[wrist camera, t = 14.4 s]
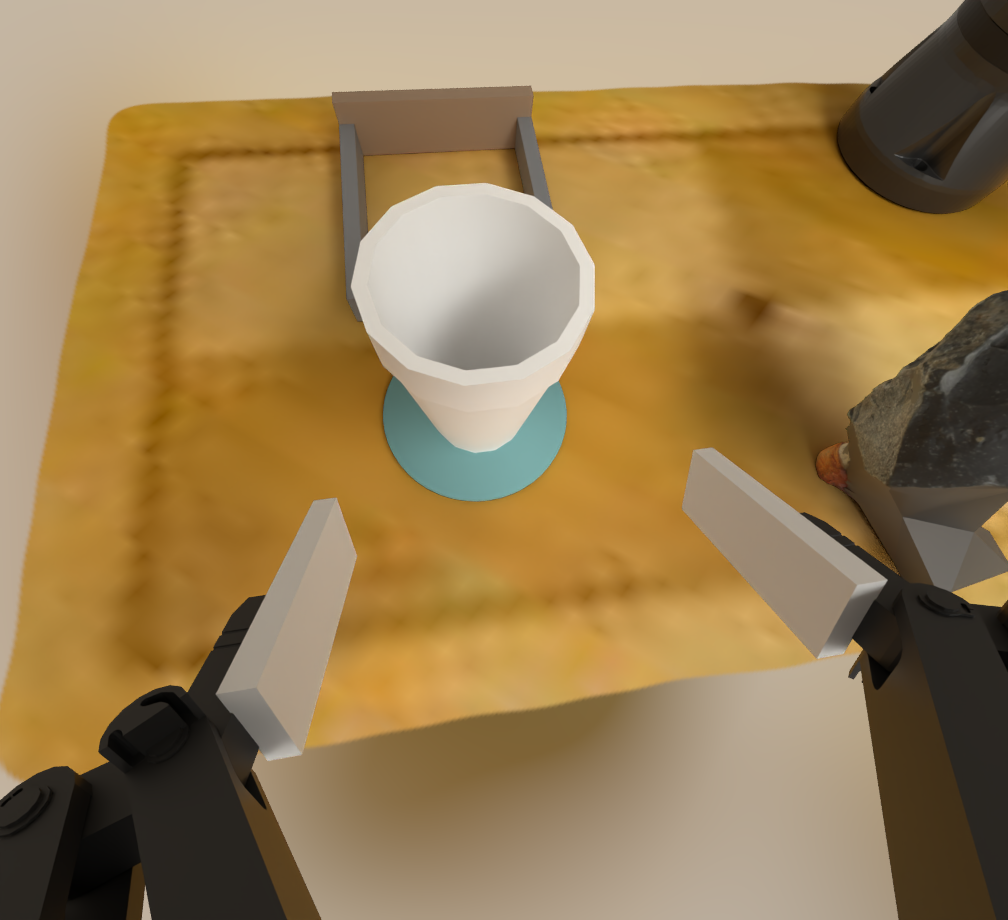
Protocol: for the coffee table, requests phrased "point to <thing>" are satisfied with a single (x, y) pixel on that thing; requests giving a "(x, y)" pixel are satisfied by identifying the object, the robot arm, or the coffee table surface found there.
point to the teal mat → (465, 470)
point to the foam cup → (474, 305)
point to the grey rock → (935, 454)
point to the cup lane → (428, 140)
